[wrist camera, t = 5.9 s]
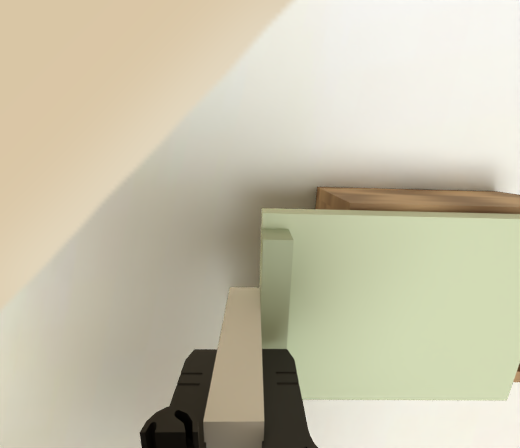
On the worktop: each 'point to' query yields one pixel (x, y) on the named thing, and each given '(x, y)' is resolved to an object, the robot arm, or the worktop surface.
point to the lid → (393, 302)
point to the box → (418, 203)
